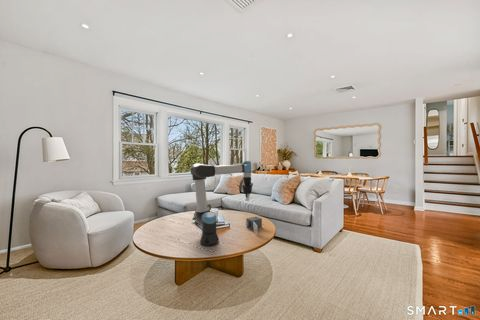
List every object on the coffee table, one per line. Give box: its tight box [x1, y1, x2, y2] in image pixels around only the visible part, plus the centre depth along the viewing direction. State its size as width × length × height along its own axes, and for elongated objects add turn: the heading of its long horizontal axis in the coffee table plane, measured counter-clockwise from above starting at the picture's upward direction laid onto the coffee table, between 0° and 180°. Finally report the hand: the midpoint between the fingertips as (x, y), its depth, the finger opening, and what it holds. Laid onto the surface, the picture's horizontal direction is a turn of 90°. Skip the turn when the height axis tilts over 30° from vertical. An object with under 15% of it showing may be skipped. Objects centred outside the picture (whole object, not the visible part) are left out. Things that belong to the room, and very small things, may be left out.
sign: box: [192, 204, 212, 221], centre depth 224 cm, size 22×3×20 cm, turn 94°
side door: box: [252, 221, 259, 235], centre depth 192 cm, size 12×2×8 cm, turn 13°
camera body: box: [245, 215, 263, 231], centre depth 205 cm, size 14×9×10 cm, turn 127°
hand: (247, 200), depth 206 cm, fingers closed
